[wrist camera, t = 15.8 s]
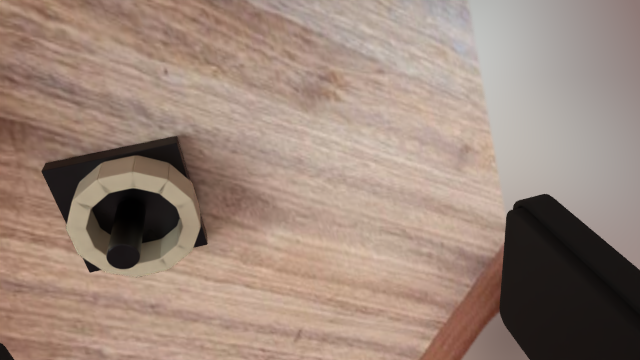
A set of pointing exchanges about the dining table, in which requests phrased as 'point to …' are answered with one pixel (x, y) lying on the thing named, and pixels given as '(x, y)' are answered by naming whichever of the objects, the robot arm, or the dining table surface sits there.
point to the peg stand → (123, 201)
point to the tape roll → (145, 177)
